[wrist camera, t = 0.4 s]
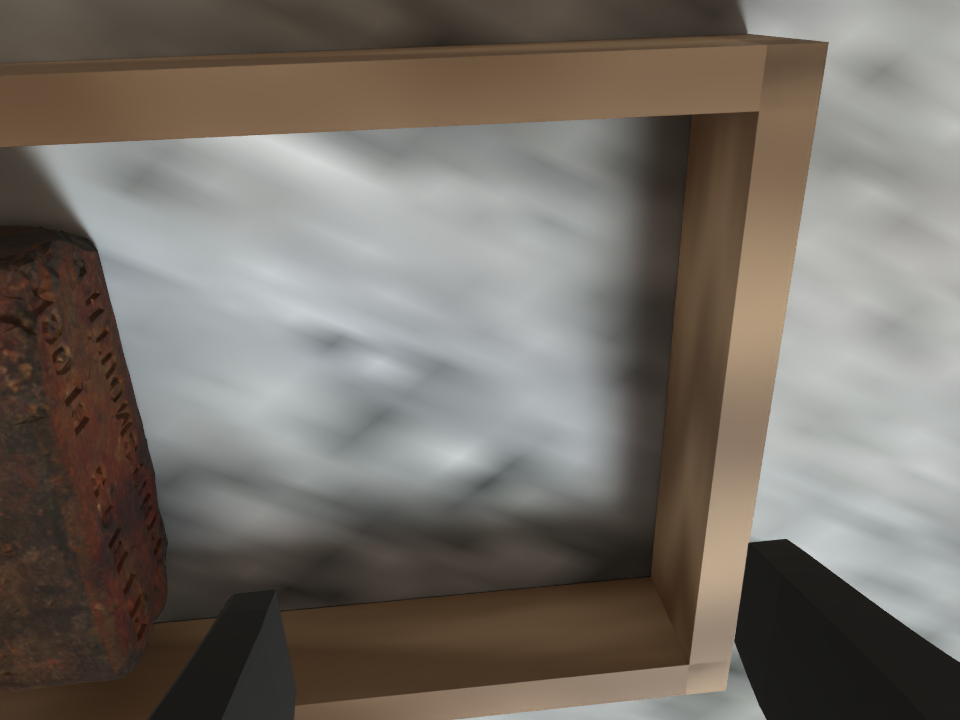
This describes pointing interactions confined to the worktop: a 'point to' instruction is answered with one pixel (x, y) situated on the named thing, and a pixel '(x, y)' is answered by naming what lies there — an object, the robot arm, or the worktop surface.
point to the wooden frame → (692, 373)
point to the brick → (70, 474)
